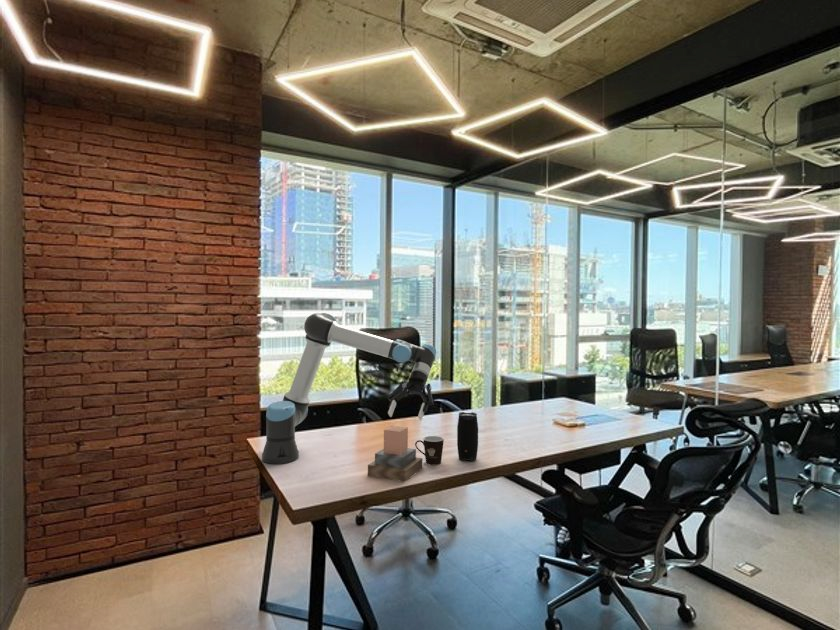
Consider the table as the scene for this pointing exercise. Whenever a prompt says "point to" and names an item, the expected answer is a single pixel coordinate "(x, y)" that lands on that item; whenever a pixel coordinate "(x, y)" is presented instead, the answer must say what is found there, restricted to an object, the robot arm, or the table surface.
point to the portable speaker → (467, 436)
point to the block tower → (395, 465)
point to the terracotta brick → (395, 440)
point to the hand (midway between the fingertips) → (404, 416)
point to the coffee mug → (432, 449)
